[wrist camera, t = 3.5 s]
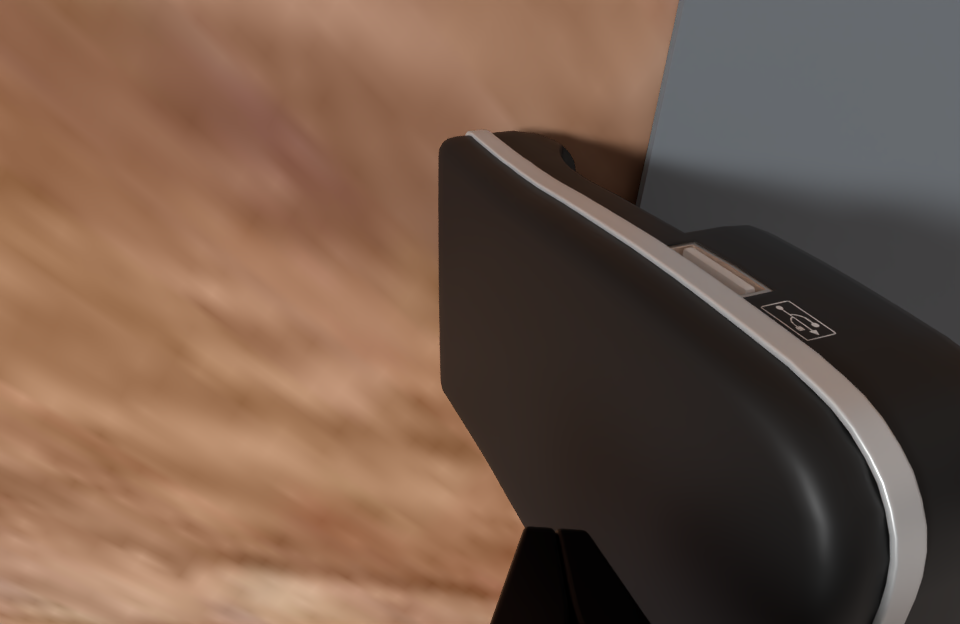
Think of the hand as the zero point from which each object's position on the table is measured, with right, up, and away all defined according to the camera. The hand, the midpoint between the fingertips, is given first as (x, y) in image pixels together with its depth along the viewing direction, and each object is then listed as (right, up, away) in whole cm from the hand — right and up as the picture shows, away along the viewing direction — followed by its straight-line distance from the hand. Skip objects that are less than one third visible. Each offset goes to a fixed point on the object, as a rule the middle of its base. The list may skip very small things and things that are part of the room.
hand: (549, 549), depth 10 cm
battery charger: (0, +5, +8) cm, 9 cm away
